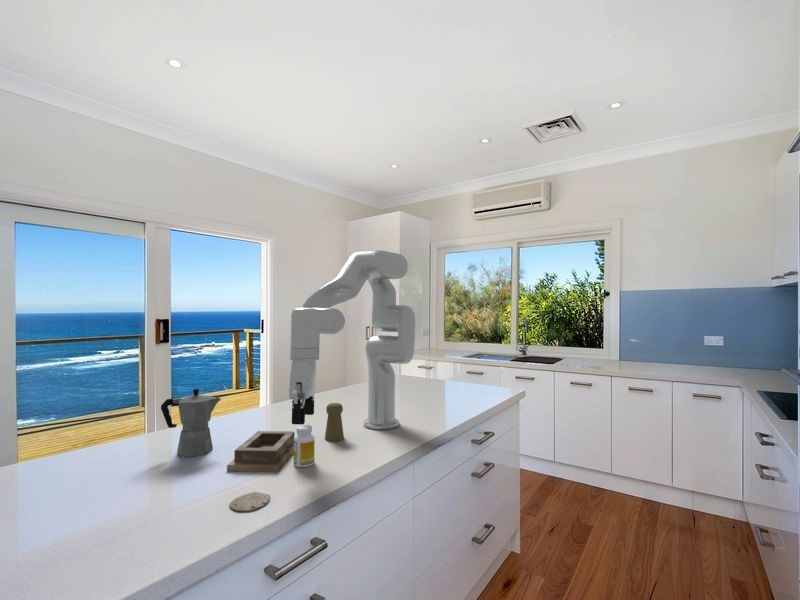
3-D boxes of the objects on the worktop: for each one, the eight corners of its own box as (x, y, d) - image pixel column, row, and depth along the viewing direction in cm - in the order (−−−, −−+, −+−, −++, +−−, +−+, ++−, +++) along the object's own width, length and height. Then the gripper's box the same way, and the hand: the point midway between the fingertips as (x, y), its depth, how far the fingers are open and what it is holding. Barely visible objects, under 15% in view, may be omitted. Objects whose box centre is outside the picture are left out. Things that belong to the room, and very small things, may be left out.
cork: (340, 442, 123) (340, 406, 123) (321, 440, 124) (321, 405, 124) (346, 435, 129) (346, 401, 129) (329, 434, 130) (329, 400, 130)
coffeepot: (221, 443, 121) (222, 384, 121) (218, 454, 112) (219, 390, 113) (163, 449, 116) (164, 387, 116) (156, 461, 107) (157, 394, 107)
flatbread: (241, 517, 79) (241, 512, 79) (223, 505, 84) (223, 500, 84) (277, 502, 85) (277, 497, 85) (258, 491, 90) (258, 487, 90)
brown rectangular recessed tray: (257, 443, 121) (257, 429, 121) (299, 444, 120) (299, 429, 120) (227, 470, 101) (227, 453, 101) (277, 471, 100) (277, 453, 100)
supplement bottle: (318, 461, 107) (318, 425, 107) (307, 469, 102) (307, 431, 102) (301, 458, 109) (301, 423, 109) (289, 466, 104) (289, 428, 104)
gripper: (299, 351, 114) (298, 411, 114) (280, 357, 97) (278, 428, 96) (325, 351, 114) (324, 411, 114) (310, 357, 97) (309, 428, 96)
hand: (303, 419), depth 105 cm, fingers open, 9 cm apart
